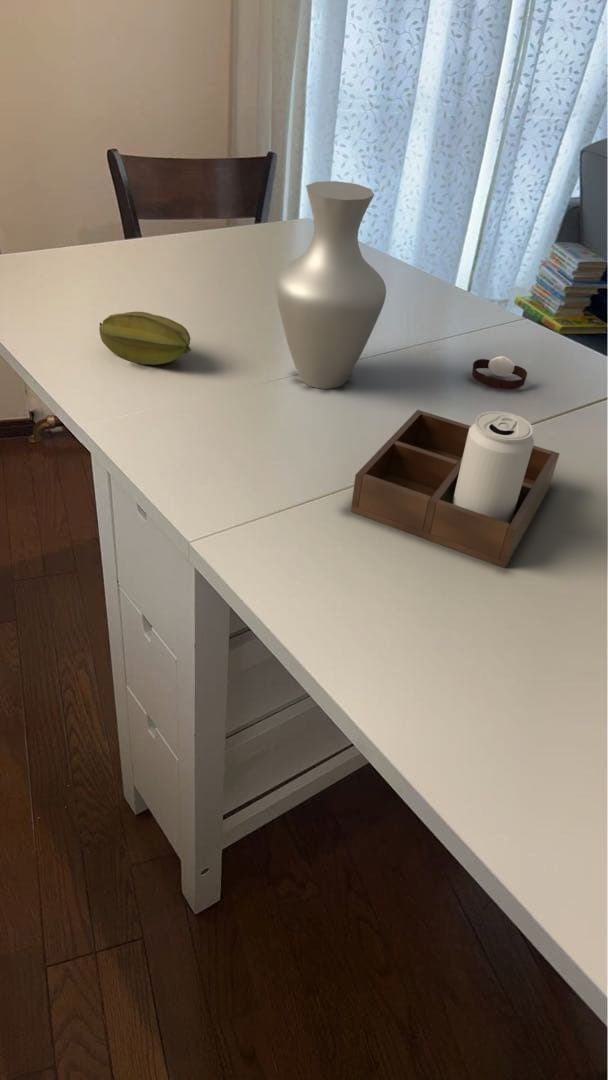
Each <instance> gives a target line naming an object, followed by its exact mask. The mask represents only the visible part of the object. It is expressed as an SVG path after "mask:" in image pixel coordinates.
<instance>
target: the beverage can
mask: <svg viewBox="0 0 608 1080" xmlns="http://www.w3.org/2000/svg"><path fill="white" fill-rule="evenodd" d="M474 419H475V420H474V423H473V424H471V425H470V426H471V427H470V428H469V432H468V436H467V440H466V445H465V449H464V454H463V458H462V462H461V467H460V471H459V475H458V480H457V484H456V489H455V493H454V497H453V502H452V504H454V505H457V506H460V507H463V508H466V509H469V510H471V511H474V512H477V513H480V514H483V515H486V516H489V517H492V518H494V519H497V520H500V521H503V522H506V523H509V524H511V521H512V518H513V514H514V511H515V507H516V504H517V500H518V497H519V494H520V490H521V487H522V483H523V480H524V476H525V473H526V469H527V466H528V462H529V459H530V455H531V452H532V448H533V445H534V444H535V440H534V437H533V433H534V428H533V426H532V424H531V423H530V422H529V421H528V420H526V419H525V418H523V417H521V416H519V415H517V414H514V413H511V412H507V411H498V410H497V411H495V410H493V411H491V410H490V411H485V412H481V413H480V414H478V415H476V417H475V418H474ZM534 446H535V445H534Z"/></svg>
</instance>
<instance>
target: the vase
mask: <svg viewBox="0 0 608 1080" xmlns="http://www.w3.org/2000/svg"><path fill="white" fill-rule="evenodd" d="M305 188H306V192H307V195H308V200H309V204H310V208H311V209H310V210H311V213H312V214H311V215H312V219H313V235H312V238H311V241H310V243H309V244H308V246H307V248H306V250H305V252H303V253H302V254H301V255H300V256H298V257H296V258H295V259H294V260H291V261H290V262H288V264H286V265H285V266H284V267H283V268H282V269H280V271H279V272H278V273H277V276H276V279H275V290H274V291H275V296H276V297H275V298H276V303H277V307H278V311H279V316H280V319H281V324H282V327H283V331H284V336H285V339H286V344H287V346H288V349H289V352H290V356H291V359H292V361H293V364H294V367H295V370H296V373H297V376H298V377H299V381H300V382H301V383H303V384H305V385H307V386H308V387H311V388H316V389H322V390H328V389H336V388H337V389H338V388H340V387H342V385H344V384H345V383H347V381H348V379H349V376H350V375H351V374H352V371H353V369H354V368H355V367H356V364H357V363H358V362H359V359H360V357H361V355H362V353H363V351H364V350H365V348H366V345H367V344H368V341H369V339H370V337H371V335H372V332H373V330H374V328H375V326H376V324H377V321H378V320H379V317H380V315H381V313H382V309H383V307H384V304H385V301H386V297H387V296H386V295H387V286H386V283H385V281H384V279H383V277H382V276H381V275H380V273H379V272H378V271H377V270H376V269H375V268H374V267H372V266H371V265H370V264H369V263H368V261H366V260H365V258H364V257H363V254H362V251H361V249H360V245H359V230H360V227H361V223H362V221H363V219H364V216H365V214H366V212H367V209H368V208H369V206H370V204H371V202H372V201H373V199H374V197H375V193H374V192H373V190H372V188H369V187H366V186H364V185H360V184H359V183H352V182H345V181H339V180H338V181H337V180H332V181H331V180H329V181H328V180H327V181H315V182H312V183H309V184H306V185H305Z"/></svg>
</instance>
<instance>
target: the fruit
mask: <svg viewBox="0 0 608 1080" xmlns="http://www.w3.org/2000/svg"><path fill="white" fill-rule="evenodd" d="M98 330H99V336H100V340H101V342H102V343H103V344H104V345H105V347H106V348H107V349H108V350H109V351H110V352H111V353H113V354H114V355H116V356H118V357H120V358H121V359H124V360H126V361H128V362H132V363H136V364H139V365H148V366H149V365H151V366H155V365H163V364H168V363H171V362H174V361H175V360H176V359H178V358H180V357H181V356H183V355H186V354H188V353H189V352H191V350H192V349H191V347H190V345H191V339H192V338H191V336H190V332H189V331H188V330H187V328H186V327H185V326H184V325H183V324H181V323H179V322H176V321H175V320H173V319H170V318H168V317H165V316H161V315H157V314H153V313H149V312H145V311H128V312H122V313H114V314H110V315H109V316H107V317H106V318H104V319H103V320H102V322H99V327H98Z"/></svg>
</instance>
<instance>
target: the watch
mask: <svg viewBox="0 0 608 1080" xmlns="http://www.w3.org/2000/svg"><path fill="white" fill-rule="evenodd" d="M479 369H487V370H490V371H491V373H492V374H493V375H495V376H497V377H494V376H492V375H486V374H484V373H482V372H480V371H478V370H479ZM471 375H472V378H473V379H474V380H475V381H477V382H478V383H480V384H482V385H484V386H487V387H489V388H493V389H501V390H502V389H503V390H517V389H520V388H522V387H524V385H525V383H526V379H527V377H528V371H527V370H526V369H525V368H524V367H522V366H519V365H516V364H514V363H513V361H512V360H511V359H510V358H508V357H506V356H505V355H502V356H500V355H499V356H496V357H494V358H493V359H487V358H479V359H476V360H475V361H473V363H472V370H471ZM509 375H514V376H516V377H519V378H520V379H515V380H511V379H509V380H508V379H503V378H504V377H507V376H509ZM498 377H502V378H498Z"/></svg>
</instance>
